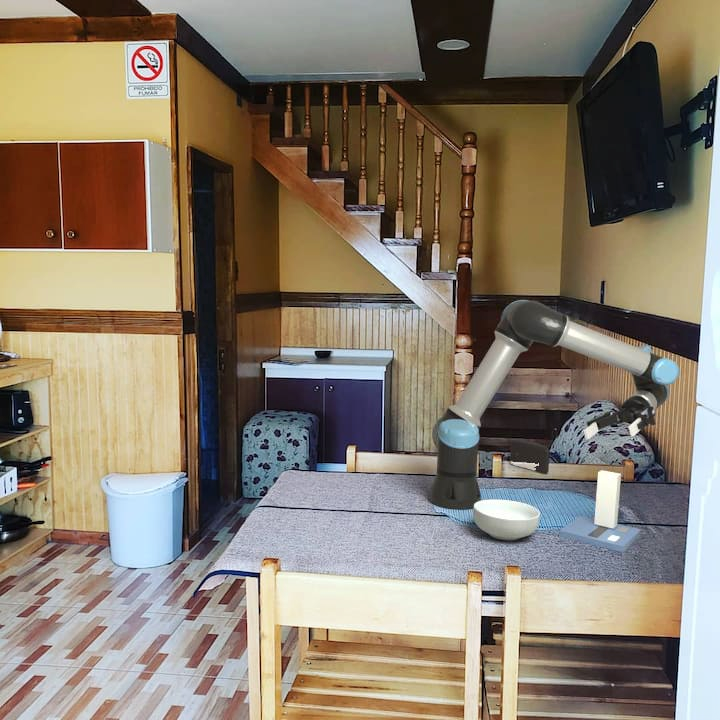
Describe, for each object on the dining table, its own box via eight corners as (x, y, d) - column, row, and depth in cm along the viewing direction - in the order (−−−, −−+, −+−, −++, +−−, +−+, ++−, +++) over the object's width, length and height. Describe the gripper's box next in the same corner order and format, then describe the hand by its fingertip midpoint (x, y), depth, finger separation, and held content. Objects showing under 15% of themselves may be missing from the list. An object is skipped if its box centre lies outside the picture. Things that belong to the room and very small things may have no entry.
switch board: (580, 520, 188) (580, 515, 188) (640, 535, 178) (641, 529, 178) (558, 536, 175) (559, 530, 175) (622, 552, 166) (623, 546, 165)
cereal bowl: (548, 547, 167) (549, 519, 166) (481, 547, 165) (483, 519, 165) (525, 524, 184) (527, 498, 183) (465, 523, 182) (466, 497, 182)
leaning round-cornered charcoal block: (553, 473, 238) (555, 447, 237) (546, 475, 235) (547, 448, 234) (516, 463, 250) (517, 438, 249) (508, 465, 247) (509, 439, 246)
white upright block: (597, 521, 182) (601, 470, 181) (617, 525, 179) (621, 473, 178) (594, 524, 180) (598, 472, 179) (613, 528, 177) (617, 476, 176)
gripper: (684, 414, 195) (655, 443, 181) (604, 422, 214) (572, 448, 199) (677, 390, 194) (647, 416, 180) (597, 399, 213) (564, 424, 199)
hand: (607, 433), depth 190 cm, fingers open, 13 cm apart
